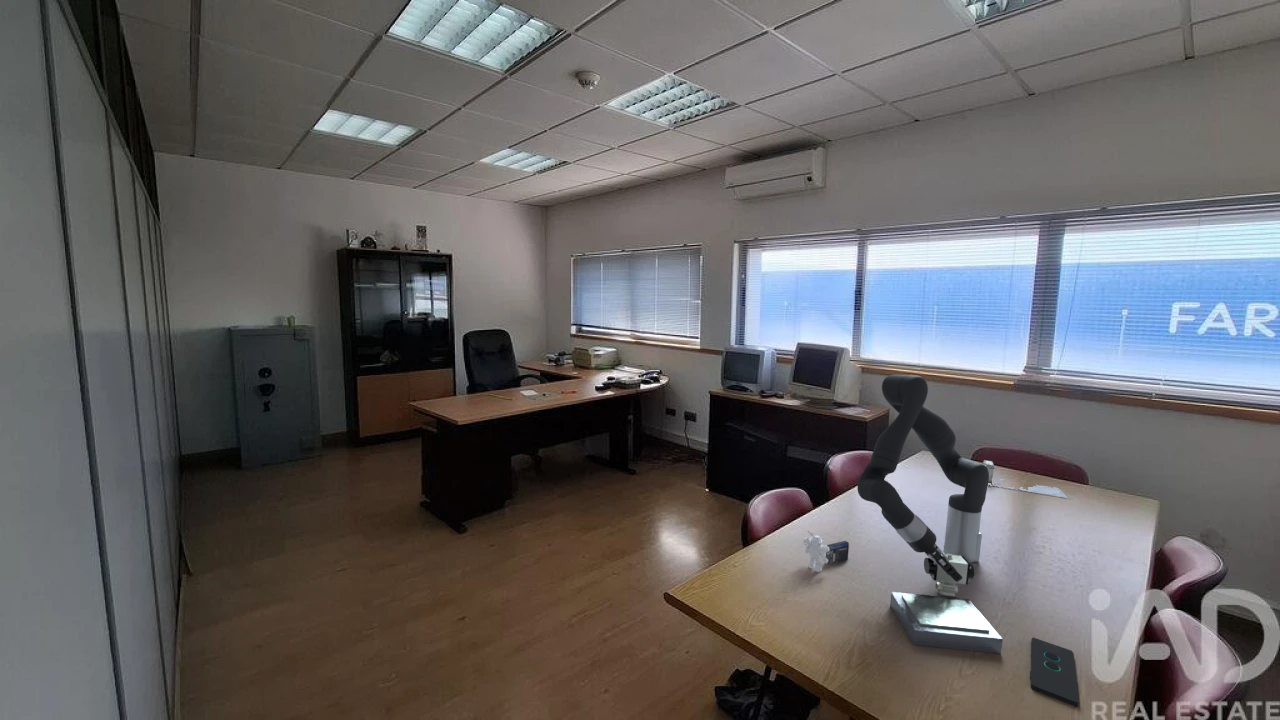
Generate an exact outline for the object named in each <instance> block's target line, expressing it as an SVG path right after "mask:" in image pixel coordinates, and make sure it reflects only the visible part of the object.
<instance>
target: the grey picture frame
mask: <svg viewBox="0 0 1280 720" xmlns="http://www.w3.org/2000/svg"><path fill="white" fill-rule="evenodd" d="M889 601H890V603H889V605H890V607H891V609H892V611H893V612H894V614H895V616H896V618H897V619H898V621H899V622H900V624H901V626H902V628H903V629H904V631H905V633H906V635H907V637H908V638H909V640H910V641H911V643H912V644H913V646H922V647H932V648H941V649H952V650H958V651H968V652H969V651H971V652H977V653H978V652H979V653H990V654H997V655H998V654H999V655H1002V649H1003V648H1002V647H1003V637H1002V636H1001V635H1000V634H999V633H998V631H997V630H996V629H995V628H994V627H993V626H992V624H991V623H990V622H989V621H988V619H986V617H985V616H984V615H983V614H982V612H980V610H979V609H978V608H977V607H976V606H975V605H974V604H973V602H972V601H971V600H970V599H969V598H964V597H963V598H962V597H952V596H943V595H940V596H938V595H930V594H929V595H927V594H919V593H918V594H916V593H908V592H896V591H891V593H890V600H889Z"/></svg>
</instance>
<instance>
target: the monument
mask: <svg viewBox="0 0 1280 720" xmlns="http://www.w3.org/2000/svg"><path fill="white" fill-rule="evenodd" d="M982 464H983V465H985V466H986V467H987V469H988V472H989V481H988V483H991V485H992V486H991V487H993V486H996V484H994V485H993V484H992V478H994V469H996V467H995V465H994V463H993V461H992V460H985V459H984V460H982ZM999 479H1000V480H998V481H1002V480H1004V479H1001V478H999ZM999 485H1001V484H1000V483H997V487H996V488H999V487H1000V486H999ZM1035 485H1036V486H1033V487H1028V490H1026V489H1023V487H1020V488H1019V489H1020V490H1022V491H1021V492H1023V491H1027V492H1026V493H1029V492H1032V493H1031V494H1035V493H1038V494H1037V495H1042V494H1043V496H1048V495H1050V496H1049V497H1054V496H1057V497H1056V498H1060V497H1064V498H1063V499H1066V498H1068V497H1067V496H1066V495H1065V493H1064V492H1063V491H1062V490H1061V489H1060V488H1059V487H1055V486H1054V487H1053V488H1052V486H1046V485H1041V484H1035ZM1005 486H1007V485H1005ZM1005 488H1009V489H1008V490H1011V489H1014V487H1012V488H1011V487H1003V488H1002V489H1005ZM1015 491H1017V489H1016V490H1015Z"/></svg>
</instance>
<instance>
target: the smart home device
mask: <svg viewBox="0 0 1280 720" xmlns="http://www.w3.org/2000/svg"><path fill="white" fill-rule="evenodd" d="M1074 654H1075V653H1074V652H1073V651H1072V650H1071V649H1068V648H1065V647H1063V646H1059V645H1056V644H1054V643H1051V642H1048V641H1045V640H1041V639H1040V638H1035V637H1032V638H1031V641H1030V671H1029V680H1030V688H1031V689H1032V691H1035V692H1036V693H1039V694H1042V695H1045V696H1047V697H1050V698H1052V699H1055V700H1057V701H1060V702H1063V703H1065V704H1067V705H1071V706H1072V707H1074V708H1078V707H1079V701H1080V697H1079V696H1080V694H1079V685H1078V681H1077V671H1076V663H1075V655H1074Z"/></svg>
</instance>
